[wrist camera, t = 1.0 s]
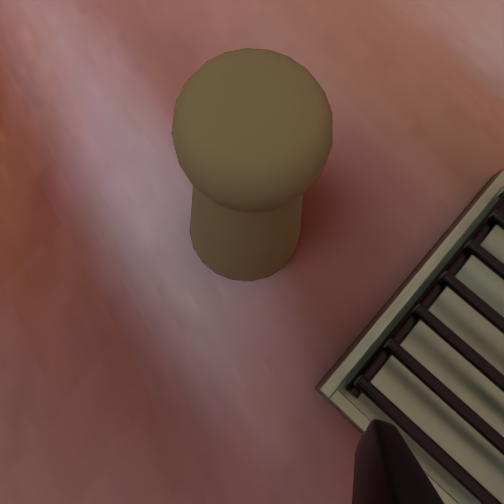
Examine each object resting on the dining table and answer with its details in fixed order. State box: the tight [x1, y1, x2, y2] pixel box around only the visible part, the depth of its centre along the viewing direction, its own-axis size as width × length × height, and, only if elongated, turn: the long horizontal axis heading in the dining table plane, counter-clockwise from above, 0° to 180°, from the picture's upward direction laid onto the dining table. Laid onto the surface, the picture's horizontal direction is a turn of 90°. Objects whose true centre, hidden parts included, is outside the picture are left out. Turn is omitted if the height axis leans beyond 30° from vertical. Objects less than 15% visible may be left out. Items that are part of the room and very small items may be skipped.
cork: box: [172, 48, 332, 281], centre depth 17 cm, size 6×6×11 cm
